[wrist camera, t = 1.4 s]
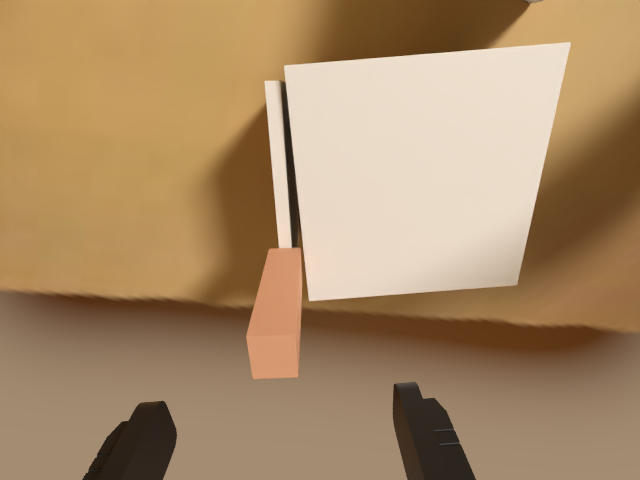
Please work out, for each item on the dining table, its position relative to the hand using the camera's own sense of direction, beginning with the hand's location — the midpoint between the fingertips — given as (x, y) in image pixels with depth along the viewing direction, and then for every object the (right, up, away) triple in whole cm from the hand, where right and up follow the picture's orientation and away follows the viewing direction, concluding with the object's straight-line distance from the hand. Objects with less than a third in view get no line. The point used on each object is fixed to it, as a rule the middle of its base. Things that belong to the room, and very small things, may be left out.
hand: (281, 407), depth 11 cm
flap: (-1, +12, +17) cm, 21 cm away
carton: (+7, +13, +17) cm, 23 cm away
